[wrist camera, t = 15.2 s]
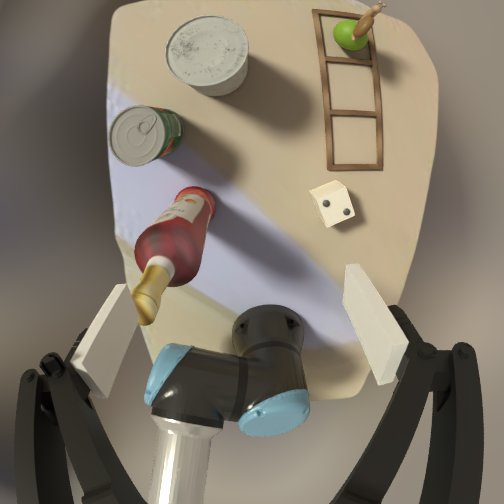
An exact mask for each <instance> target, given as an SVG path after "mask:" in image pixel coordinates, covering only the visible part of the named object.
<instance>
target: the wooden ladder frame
mask: <svg viewBox="0 0 504 504" xmlns="http://www.w3.org/2000/svg"><path fill="white" fill-rule="evenodd" d="M312 14H313V20H314V27H315V33H316V40H317V47H318V55H319V63H320V72H321V81H322V92H323V103H324V117H325V132H326V153H327V170H351V169H382V117H381V100H380V88H379V77H378V68H377V60H376V53H375V46H374V40H373V34H372V28H371V29H370V30H369V31H368V32H367V34H368V44H369V51H370V58H371V61H370V60H362V59H353V58H343V57H330V56H324V48H323V41H322V34H321V28H320V21H319V15H318V14H320V15H331V16H340V17H348V18H355V19H361V18H362V17H363V16H364V15H360V14H354V13H347V12H339V11H331V10H320V9H312ZM325 61H327V62H342V63H353V64H362V65H370V66H372V74H373V84H374V96H375V110H376V112H373V111H357V110H330V105H329V93H328V82H327V73H326V64H325ZM330 114H334V115H362V116H376V133H377V164H336V165H333V160H332V136H331V119H330Z"/></svg>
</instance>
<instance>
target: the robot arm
mask: <svg viewBox="0 0 504 504" xmlns="http://www.w3.org/2000/svg"><path fill="white" fill-rule="evenodd" d="M342 303H343V305H344V307H345V309H346V312H347V314H348V316H349V318H350V320H351V322H352V325H353V327H354V329H355V331H356V334H357V336H358V338H359V340H360V343H361V345H362V347H363V350H364V352H365V354H366V357H367V359H368V362H369V364H370V366H371V369H372V371H373V373H374V376H375V379H376V381H377V383H378V385H383V384H387V383H390V382H393V380H394V377H395V375H397V377H398V380H399V382H398V384H397V386H396V388H395V390H394V392H393V395H392V398H391V400H390V402H389V404H388V406H387V409H386V411H385V413H384V415H383V417H382V419H381V421H380V423H379V425H378V427H377V429H376V431H375V433H374V435H373V437H372V439H371V440H370V442H369V444H368V446H367V447H366V449H365V451H364V453H363V454H362V456H361V458H360V459H359V461H358V463H357V464H356V466H355V467H354V469H353V471H352V472H351V474H350V475H349V477H348V479H347V480H346V482H345V483H344V484H343V486H342V487H341V489H340V490H339V492H338V493H337V494H336V496H335V497H334V499H333V500H332V501H331V502H330V503H329V504H381V502H382V499H383V497H384V495H385V494H386V492H387V490H388V488H389V486H390V485H391V483H392V481H393V479H394V477H395V475H396V473H397V472H398V469H399V467H400V465H401V463H402V461H403V459H404V457H405V454H406V452H407V450H408V448H409V446H410V443H411V441H412V439H413V436H414V434H415V431H416V429H417V426H418V423H419V420H420V418H421V415H422V412H423V409H424V406H425V403H426V400H427V397H428V394H429V392H432V391H433V413H432V427H431V438H430V448H429V455H428V463H427V468H426V475H425V480H424V484H423V489H422V494H421V498H420V502H419V504H479V498H480V491H481V482H482V472H483V455H484V453H483V452H484V424H483V406H482V394H481V385H480V377H479V370H478V364H477V358H476V353H475V350H474V348H473V347H472V346H471V345H469V344H467V343H464V342H459V343H457V344H455V345H454V347H453V349H452V350H437V349H436V348H435V347H434V346H433V345H432V344H430V343H425V342H424V341H423V340H422V338H421V337H420V335H419V334H418V332H417V331H416V329H415V327H414V326H413V324H411V321H410V320H409V319H408V318H407V315H406V314H405V313H404V311H403V310H402V309H401V308H399V307H398V306H397V305H391V306H386V304H385V302H384V301H383V299H382V298H381V296H380V295H379V293H378V292H377V290H376V289H375V287H374V286H373V284H372V283H371V281H370V280H369V278H368V277H367V275H366V274H365V272H364V271H363V270H362V268H361V267H360V265H359V264H358V263H356V264H347V265H346V272H345V283H344V292H343V302H342ZM139 320H140V317H139V315H138V312H137V310H136V307H135V305H134V302H133V299H132V297H131V294H130V291H129V288H128V286H127V284H117V285H116V286H115V288H114V289H113V291H112V292H111V294H110V295H109V297H108V298H107V300H106V301H105V303H104V305H103V306H102V308H101V309H100V311H99V312H98V314H97V316H96V317H95V319H94V321H93V322H92V324H91V325H90V327H89V328H86V329H85V330H84V331H83V332H82V333H81V334H79V336H78V338H77V340H76V342H75V343H74V345H73V347H72V348H71V350H70V352H69V353H68V355H67V357H66V359H65V361H64V362H63V360H62V359H61V357H60V356H59V355H58V354H57V353H55V352H52V353H49V354H47V355H45V356H44V357H43V358H42V359H41V361H40V368H41V369H42V370H43V372H44V373H45V375H40V374H39V373H38V372H37V371H36V370H35V369H29V370H27V371H26V372H24V373H23V375H22V377H21V380H20V386H19V393H18V401H17V410H16V422H15V440H14V467H15V485H16V494H17V503H18V504H74V502H73V496H72V491H71V486H70V481H69V475H68V468H67V460H66V452H65V446H66V449H67V452H68V455H69V458H70V460H71V463H72V465H73V468H74V471H75V473H76V476H77V478H78V480H79V482H80V485H81V487H82V489H83V492H84V496H83V497H82V503H83V504H203V500H204V492H205V484H206V477H207V469H208V462H209V455H210V447H211V440H212V438H213V437H214V436H215V435H217V434H218V433H220V432H221V431H222V430H223V423H224V420H226V421H234V422H238V425H239V427H240V429H241V431H242V432H243V433H245V434H248V435H250V436H256V437H266V436H274V435H278V434H282V433H285V432H288V431H290V430H293V429H295V428H296V427H298V426H300V425H301V424H302V423H303V422H304V421H305V420H306V419H307V417H308V415H309V413H310V403H309V392H308V390H307V385H306V380H305V375H304V370H303V366H302V361H301V356H300V353H301V349H302V344H303V340H304V329H303V325H302V322H301V319H300V318H299V316H298V315H297V314H296V313H295V312H293V311H292V310H290V309H288V308H286V307H283V306H279V305H261V306H257V307H254V308H251V309H249V310H247V311H245V312H244V313H242V314H241V315H240V316H239V317H238V318H237V320H236V321H235V323H234V325H233V329H232V342H233V345H234V348H235V350H236V352H237V355H238V356H235V355H230V354H225V353H219V352H215V351H210V350H205V349H200V348H196V347H194V346H192V345H191V346H186V345H181V344H176V343H170V344H167V345H166V346H164V347H163V348H162V350H161V351H160V353H159V355H158V357H157V359H156V361H155V363H154V366H153V368H152V371H151V374H150V377H149V380H148V383H147V389H146V392H145V397H144V400H145V403H146V404H148V405H149V406H153V407H152V413H151V417H152V418H153V420H154V421H155V423H156V424H157V426H158V434H157V440H156V447H155V453H154V460H153V468H152V475H151V483H150V491H149V501H148V503H147V502H146V501H145V500H144V499H143V498H142V496H141V495H140V493H139V492H138V490H137V489H136V487H135V485H134V484H133V482H132V481H131V479H130V477H129V476H128V474H127V473H126V471H125V469H124V467H123V465H122V464H121V462H120V460H119V458H118V456H117V455H116V453H115V451H114V449H113V447H112V445H111V443H110V441H109V439H108V437H107V435H106V433H105V430H104V428H103V426H102V424H101V422H100V419H99V417H98V415H97V413H96V410H95V407H94V405H93V403H92V400H91V398H90V397H89V396H88V395H89V392H90V390H91V392H92V393H93V394H94V395H95V397H99V398H105V399H107V398H108V395H109V393H110V390H111V388H112V385H113V382H114V380H115V377H116V375H117V372H118V370H119V367H120V364H121V362H122V360H123V357H124V355H125V352H126V350H127V347H128V345H129V343H130V340H131V338H132V336H133V333H134V331H135V329H136V327H137V324H138V322H139Z"/></svg>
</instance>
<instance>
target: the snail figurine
mask: <svg viewBox="0 0 504 504" xmlns="http://www.w3.org/2000/svg"><path fill="white" fill-rule="evenodd" d="M378 3H379V4H382V2H381V1H379V2H378ZM382 7H386V5H385V4H383V6H382ZM382 7H380V6H379V5H378V4H377V5H374V6H373V7H372V8H371V9H370V10H368V11H367V12H366V13H365V14H364V16H363V17H362V18H361V19H360V20H359V22H358V23H357V22H355V21H351V20H345V21H342V22H340V23H338V24H337V25H336V26H335V28H334V32H333V34H334V38H335V40H336V42H337V43H338V44H339V45H340V46H341V47H343V48H344V49H347V50H352V51H355V50H359V49H362V48H363V47H364V46H365V45H366V44H367V41H368V34H367V32H368V31H369V30H370V29H371V27H372V26H373V24H374V19H373V18H374V17H375V16H376V15H377V14H378V13H380V12H381V8H382Z"/></svg>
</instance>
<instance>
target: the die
mask: <svg viewBox="0 0 504 504" xmlns="http://www.w3.org/2000/svg"><path fill="white" fill-rule="evenodd" d="M309 192H310V195H311V197H312V200H313V202H314V205H315V207H316V210H317V212H318V215H319V217H320V219H321V220H322V221H323V223H324V224H325V226H326V227H327V228H328V227H330V226H332V225H334V224H337V223H339V222H341V221H344V220H346V219H348V218H350V217H353V216H355V213H354V210H353V207H352V204H351V201H350V198H349V195H348V192H347V189H346V186H344V185H343V184H341V183H340V182H338V181H337V180H334V181H332V182H329V183H327V184H324V185H322V186H320V187H317V188H315V189H313V190H310V191H309Z"/></svg>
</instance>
